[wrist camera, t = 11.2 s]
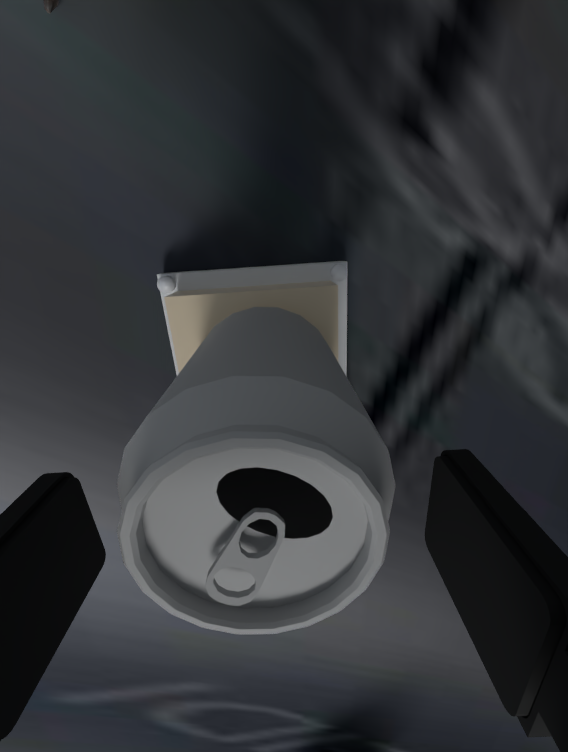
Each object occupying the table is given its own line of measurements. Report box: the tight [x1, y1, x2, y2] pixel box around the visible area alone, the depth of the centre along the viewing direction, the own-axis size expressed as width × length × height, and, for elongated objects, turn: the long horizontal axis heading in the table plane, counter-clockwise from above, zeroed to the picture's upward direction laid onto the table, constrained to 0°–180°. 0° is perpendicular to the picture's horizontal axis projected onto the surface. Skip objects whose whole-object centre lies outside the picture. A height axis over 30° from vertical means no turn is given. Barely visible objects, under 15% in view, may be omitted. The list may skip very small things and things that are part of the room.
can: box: [117, 307, 395, 634], centre depth 13 cm, size 8×8×12 cm
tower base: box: [157, 261, 348, 375], centre depth 20 cm, size 11×11×4 cm
